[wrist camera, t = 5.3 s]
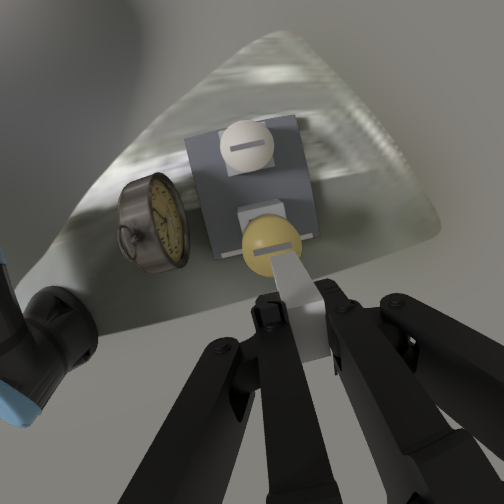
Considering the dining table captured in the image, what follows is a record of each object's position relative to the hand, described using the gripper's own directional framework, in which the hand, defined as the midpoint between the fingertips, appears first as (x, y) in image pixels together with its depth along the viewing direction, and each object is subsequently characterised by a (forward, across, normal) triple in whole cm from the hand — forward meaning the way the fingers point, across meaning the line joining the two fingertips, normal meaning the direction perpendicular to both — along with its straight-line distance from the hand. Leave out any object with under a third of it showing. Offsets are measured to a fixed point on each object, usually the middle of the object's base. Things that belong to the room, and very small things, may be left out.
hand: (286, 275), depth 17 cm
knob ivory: (+19, 0, +9) cm, 21 cm away
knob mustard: (+15, 0, 0) cm, 15 cm away
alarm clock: (+22, -12, +3) cm, 25 cm away
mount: (+22, 0, +4) cm, 22 cm away
